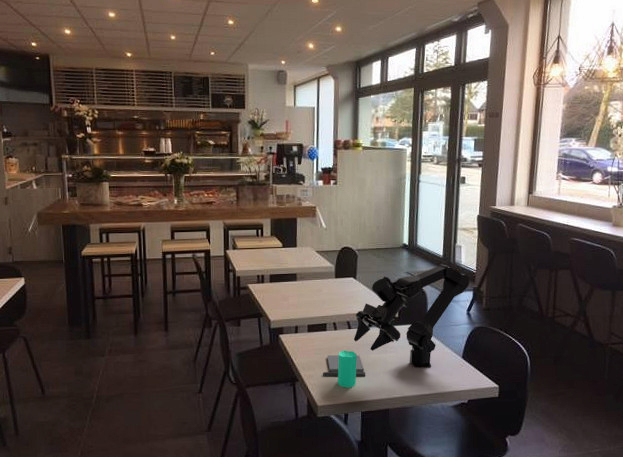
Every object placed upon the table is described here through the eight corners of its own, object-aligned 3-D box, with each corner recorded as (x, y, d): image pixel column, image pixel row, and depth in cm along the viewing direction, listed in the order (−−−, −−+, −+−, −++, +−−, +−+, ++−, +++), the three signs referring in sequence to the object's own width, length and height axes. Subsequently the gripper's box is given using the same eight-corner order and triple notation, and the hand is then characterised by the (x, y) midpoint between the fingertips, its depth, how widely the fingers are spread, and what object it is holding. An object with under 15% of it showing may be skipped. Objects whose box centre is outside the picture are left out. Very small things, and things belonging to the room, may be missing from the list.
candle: (354, 388, 181) (355, 353, 179) (336, 386, 182) (337, 352, 180) (356, 380, 187) (357, 347, 184) (339, 378, 188) (340, 345, 186)
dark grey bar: (364, 375, 191) (364, 371, 191) (365, 377, 190) (365, 373, 190) (322, 375, 190) (322, 371, 190) (322, 377, 189) (322, 373, 189)
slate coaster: (359, 357, 205) (359, 355, 205) (363, 371, 193) (363, 369, 193) (327, 357, 205) (327, 355, 204) (329, 371, 193) (329, 369, 193)
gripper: (361, 288, 193) (334, 323, 189) (395, 302, 177) (366, 341, 174) (377, 306, 198) (351, 341, 195) (412, 322, 183) (385, 359, 179)
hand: (362, 345), depth 185 cm, fingers open, 9 cm apart
